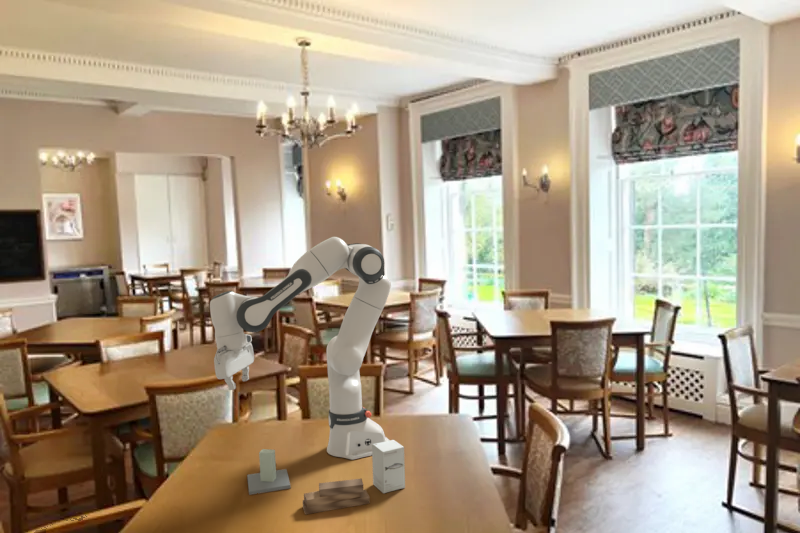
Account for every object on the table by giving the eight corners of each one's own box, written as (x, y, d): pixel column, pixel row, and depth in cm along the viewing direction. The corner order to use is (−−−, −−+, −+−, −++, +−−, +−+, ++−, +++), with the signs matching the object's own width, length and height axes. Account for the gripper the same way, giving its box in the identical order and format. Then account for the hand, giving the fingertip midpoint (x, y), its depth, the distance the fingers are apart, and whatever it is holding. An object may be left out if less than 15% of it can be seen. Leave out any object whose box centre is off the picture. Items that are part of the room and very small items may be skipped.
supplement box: (383, 494, 168) (382, 451, 167) (372, 484, 175) (371, 443, 174) (406, 488, 172) (404, 446, 171) (394, 478, 178) (393, 438, 177)
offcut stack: (365, 495, 168) (364, 475, 168) (370, 504, 163) (369, 483, 162) (302, 506, 163) (301, 485, 162) (305, 515, 157) (304, 494, 157)
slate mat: (286, 471, 186) (286, 468, 185) (290, 488, 174) (290, 485, 174) (247, 477, 182) (247, 474, 182) (249, 494, 171) (248, 491, 171)
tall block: (264, 477, 180) (262, 449, 179) (276, 478, 179) (274, 449, 178) (260, 481, 177) (259, 452, 176) (273, 481, 176) (271, 452, 176)
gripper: (224, 349, 175) (233, 393, 176) (253, 334, 195) (261, 374, 196) (205, 351, 176) (214, 396, 177) (236, 337, 196) (244, 377, 197)
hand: (239, 384), depth 187 cm, fingers open, 8 cm apart
